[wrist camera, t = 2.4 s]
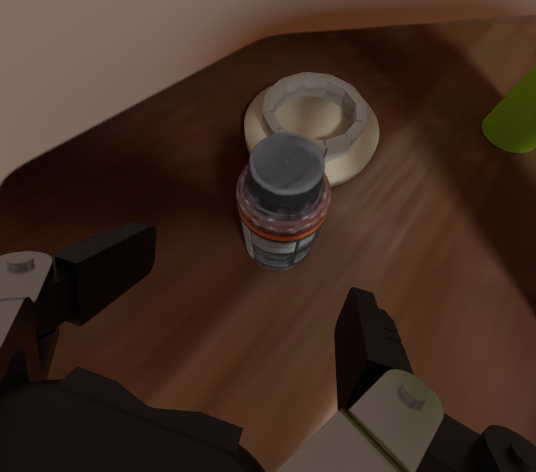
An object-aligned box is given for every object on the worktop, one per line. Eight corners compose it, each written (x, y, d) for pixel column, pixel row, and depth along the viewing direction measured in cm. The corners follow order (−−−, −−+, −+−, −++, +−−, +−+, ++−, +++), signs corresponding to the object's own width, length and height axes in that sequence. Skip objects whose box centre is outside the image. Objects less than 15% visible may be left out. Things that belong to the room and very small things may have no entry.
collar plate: (372, 96, 32) (384, 67, 28) (375, 196, 26) (391, 175, 23) (255, 84, 32) (254, 54, 29) (234, 180, 27) (230, 156, 23)
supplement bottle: (263, 202, 26) (263, 102, 15) (320, 228, 25) (362, 140, 14) (232, 255, 24) (207, 179, 13) (293, 285, 23) (319, 230, 12)
